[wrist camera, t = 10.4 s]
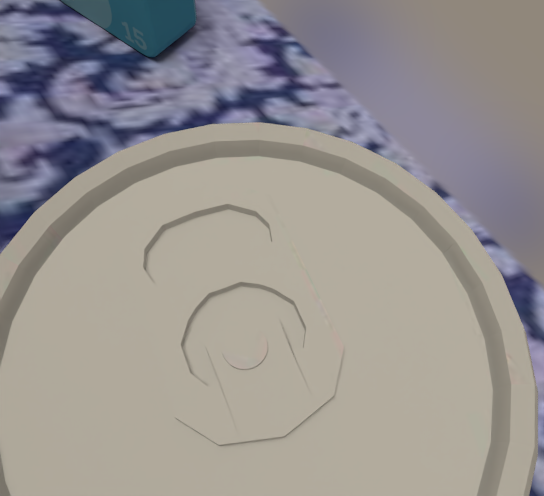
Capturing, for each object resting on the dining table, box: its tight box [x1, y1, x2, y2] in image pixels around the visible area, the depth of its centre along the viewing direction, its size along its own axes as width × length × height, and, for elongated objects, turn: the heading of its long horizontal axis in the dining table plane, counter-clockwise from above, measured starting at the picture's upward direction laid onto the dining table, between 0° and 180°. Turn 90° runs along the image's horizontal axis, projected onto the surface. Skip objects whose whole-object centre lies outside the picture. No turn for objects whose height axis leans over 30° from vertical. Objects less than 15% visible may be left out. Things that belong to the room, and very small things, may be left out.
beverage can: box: [0, 122, 538, 496], centre depth 11 cm, size 6×6×15 cm
